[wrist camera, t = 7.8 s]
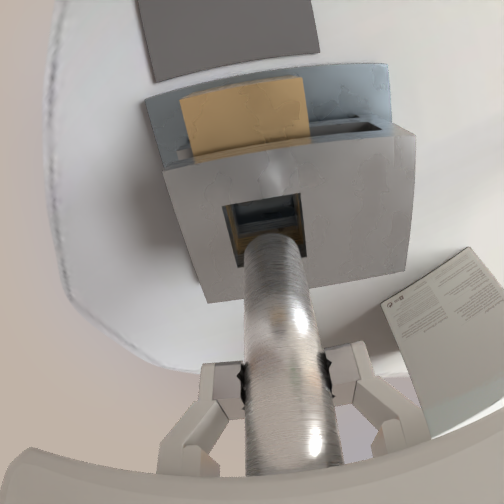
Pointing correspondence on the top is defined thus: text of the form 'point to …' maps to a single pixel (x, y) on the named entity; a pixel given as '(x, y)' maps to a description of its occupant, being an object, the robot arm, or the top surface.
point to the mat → (224, 32)
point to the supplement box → (452, 341)
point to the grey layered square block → (289, 171)
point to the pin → (284, 366)
